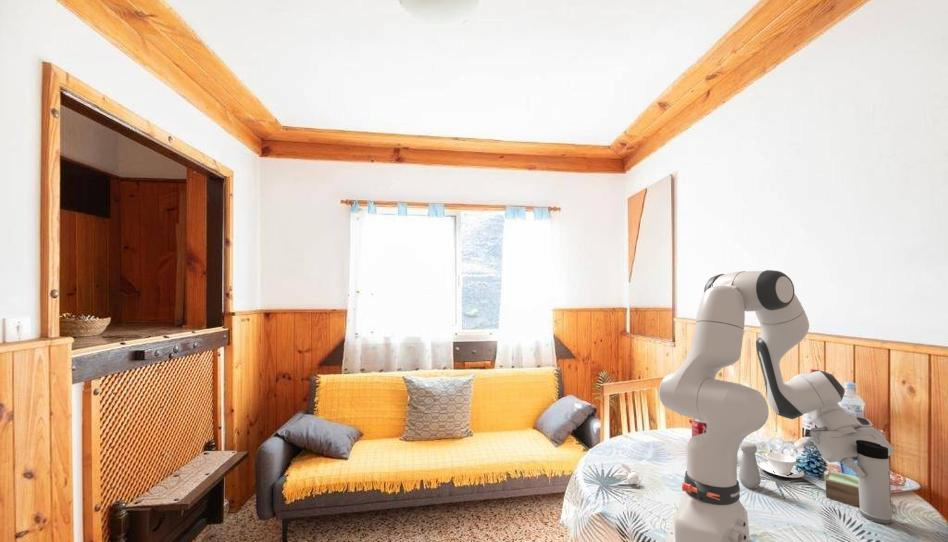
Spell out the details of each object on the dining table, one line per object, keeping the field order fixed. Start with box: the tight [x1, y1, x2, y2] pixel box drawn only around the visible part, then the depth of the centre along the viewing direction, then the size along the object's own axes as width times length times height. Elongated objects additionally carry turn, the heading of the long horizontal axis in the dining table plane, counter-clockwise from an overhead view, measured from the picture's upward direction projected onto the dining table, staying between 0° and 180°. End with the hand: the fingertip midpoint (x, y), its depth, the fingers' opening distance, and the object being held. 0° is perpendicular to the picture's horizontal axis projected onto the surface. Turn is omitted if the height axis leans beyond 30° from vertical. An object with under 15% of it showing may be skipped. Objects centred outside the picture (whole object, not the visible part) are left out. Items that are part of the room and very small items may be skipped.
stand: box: [825, 470, 860, 508], centre depth 121 cm, size 9×9×5 cm
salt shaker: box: [738, 441, 762, 490], centre depth 129 cm, size 6×6×13 cm
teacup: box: [759, 451, 805, 479], centre depth 137 cm, size 12×12×5 cm
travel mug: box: [856, 440, 893, 525], centre depth 111 cm, size 6×7×20 cm
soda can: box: [691, 418, 707, 438], centre depth 155 cm, size 7×7×12 cm
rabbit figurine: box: [613, 460, 642, 488], centre depth 131 cm, size 6×4×8 cm
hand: (875, 475), depth 110 cm, fingers closed on travel mug, 6 cm apart
